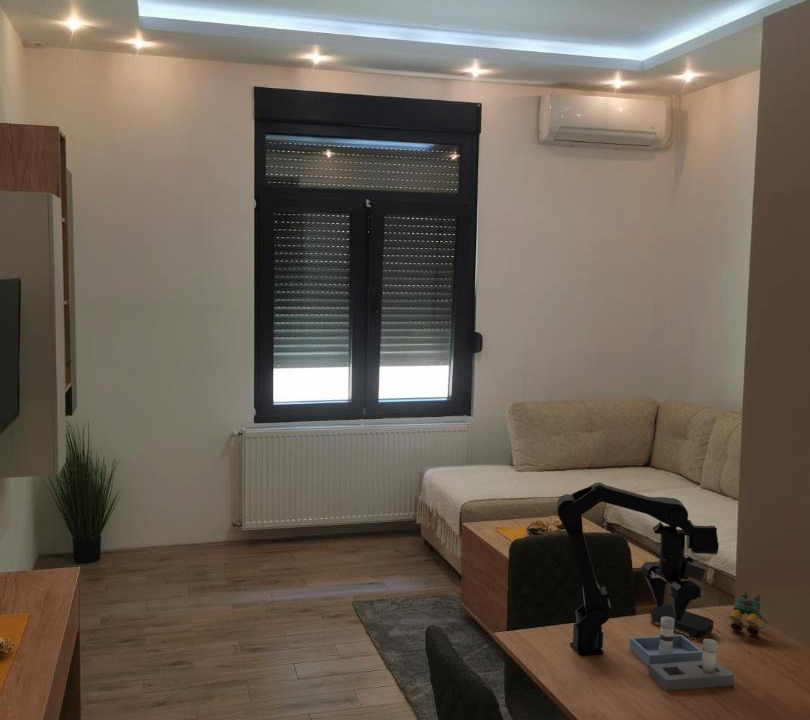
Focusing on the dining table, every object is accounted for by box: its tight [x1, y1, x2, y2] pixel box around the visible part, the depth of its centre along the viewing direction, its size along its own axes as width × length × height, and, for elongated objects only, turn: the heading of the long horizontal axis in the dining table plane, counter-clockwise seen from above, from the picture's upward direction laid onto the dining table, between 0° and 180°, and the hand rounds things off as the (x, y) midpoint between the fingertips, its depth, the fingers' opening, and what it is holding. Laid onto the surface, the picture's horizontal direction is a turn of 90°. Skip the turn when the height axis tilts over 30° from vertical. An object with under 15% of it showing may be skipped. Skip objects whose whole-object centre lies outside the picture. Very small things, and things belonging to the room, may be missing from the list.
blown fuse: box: [659, 616, 675, 654], centre depth 209 cm, size 3×3×9 cm
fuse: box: [701, 638, 719, 673], centre depth 198 cm, size 3×3×9 cm
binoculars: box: [729, 591, 768, 637], centre depth 227 cm, size 9×9×10 cm
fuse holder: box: [648, 660, 735, 692], centre depth 197 cm, size 17×8×2 cm, turn 102°
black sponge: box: [649, 604, 715, 640], centre depth 228 cm, size 16×8×4 cm, turn 41°
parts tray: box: [628, 634, 703, 668], centre depth 210 cm, size 14×10×3 cm
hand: (668, 613), depth 209 cm, fingers open, 9 cm apart
